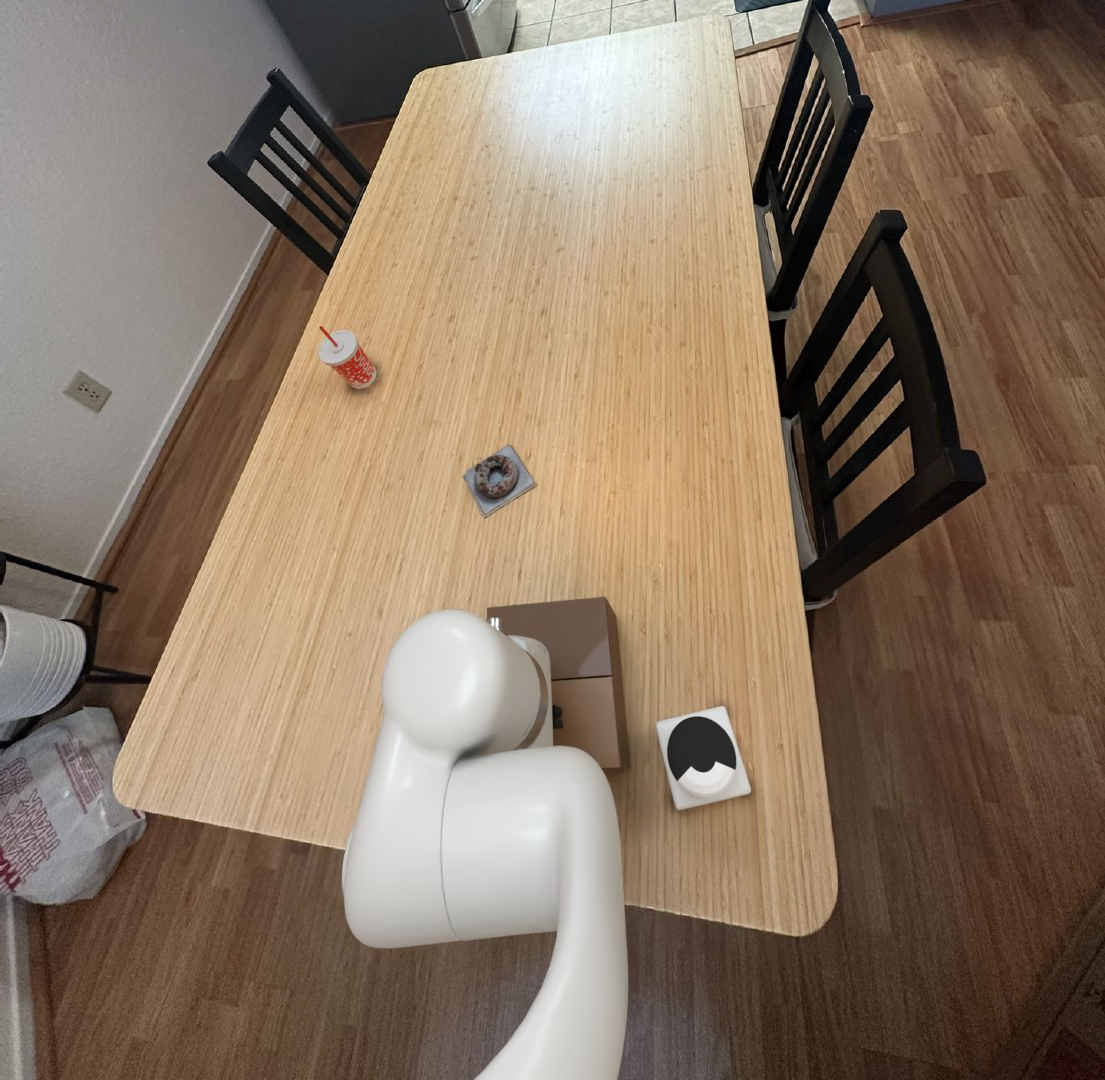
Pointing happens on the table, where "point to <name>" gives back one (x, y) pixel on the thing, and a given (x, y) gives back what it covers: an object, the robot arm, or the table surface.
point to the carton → (575, 645)
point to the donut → (498, 480)
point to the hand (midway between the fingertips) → (546, 719)
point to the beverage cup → (347, 358)
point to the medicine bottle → (702, 758)
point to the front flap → (588, 718)
